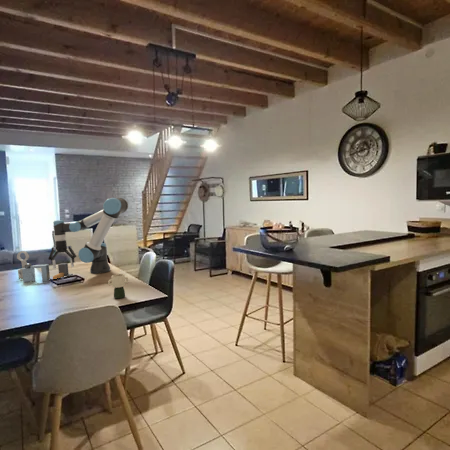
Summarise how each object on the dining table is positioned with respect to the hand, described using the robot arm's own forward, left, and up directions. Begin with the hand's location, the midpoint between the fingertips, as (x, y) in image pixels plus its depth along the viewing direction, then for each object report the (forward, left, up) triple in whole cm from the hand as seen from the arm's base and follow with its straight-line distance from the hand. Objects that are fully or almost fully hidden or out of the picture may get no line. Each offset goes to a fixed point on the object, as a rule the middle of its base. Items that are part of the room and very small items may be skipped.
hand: (63, 267), depth 249 cm
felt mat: (0, +3, -6) cm, 7 cm away
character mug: (-62, +69, -7) cm, 93 cm away
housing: (+15, +13, -6) cm, 21 cm away
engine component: (+31, -4, -7) cm, 33 cm away
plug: (+1, +6, -6) cm, 8 cm away
